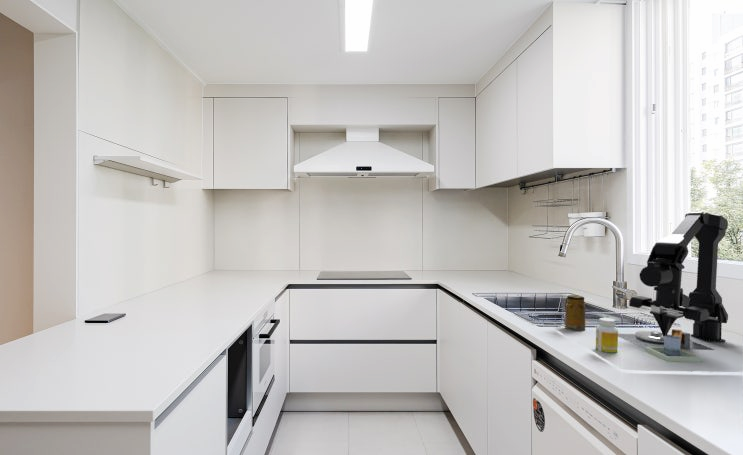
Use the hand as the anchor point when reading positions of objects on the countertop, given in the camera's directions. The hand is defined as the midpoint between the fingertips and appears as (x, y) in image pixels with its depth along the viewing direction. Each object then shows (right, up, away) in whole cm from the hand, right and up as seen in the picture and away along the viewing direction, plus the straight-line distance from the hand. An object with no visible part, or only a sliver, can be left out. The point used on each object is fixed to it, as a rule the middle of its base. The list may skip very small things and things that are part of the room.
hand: (664, 336), depth 121 cm
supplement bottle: (-20, -4, -5) cm, 21 cm away
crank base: (+2, -4, +5) cm, 7 cm away
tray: (-4, -4, -9) cm, 10 cm away
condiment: (-16, -4, +18) cm, 25 cm away
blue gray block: (-4, -3, -9) cm, 10 cm away
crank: (+2, -2, +5) cm, 6 cm away
